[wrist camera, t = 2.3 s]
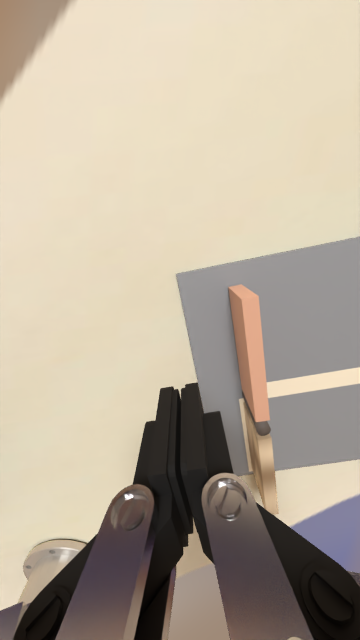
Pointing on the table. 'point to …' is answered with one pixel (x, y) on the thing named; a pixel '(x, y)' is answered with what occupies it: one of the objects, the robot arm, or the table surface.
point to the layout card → (285, 351)
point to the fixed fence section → (262, 459)
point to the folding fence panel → (250, 349)
